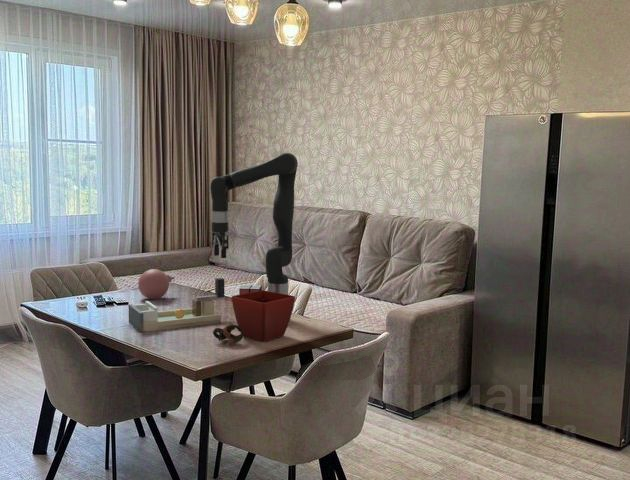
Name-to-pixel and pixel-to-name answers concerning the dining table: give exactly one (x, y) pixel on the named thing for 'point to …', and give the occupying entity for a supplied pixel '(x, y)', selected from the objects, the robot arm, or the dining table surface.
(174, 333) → the dining table surface
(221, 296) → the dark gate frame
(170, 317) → the tray with compartments
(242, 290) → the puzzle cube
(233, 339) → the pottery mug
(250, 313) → the plant pot
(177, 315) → the ball
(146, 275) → the balloon
